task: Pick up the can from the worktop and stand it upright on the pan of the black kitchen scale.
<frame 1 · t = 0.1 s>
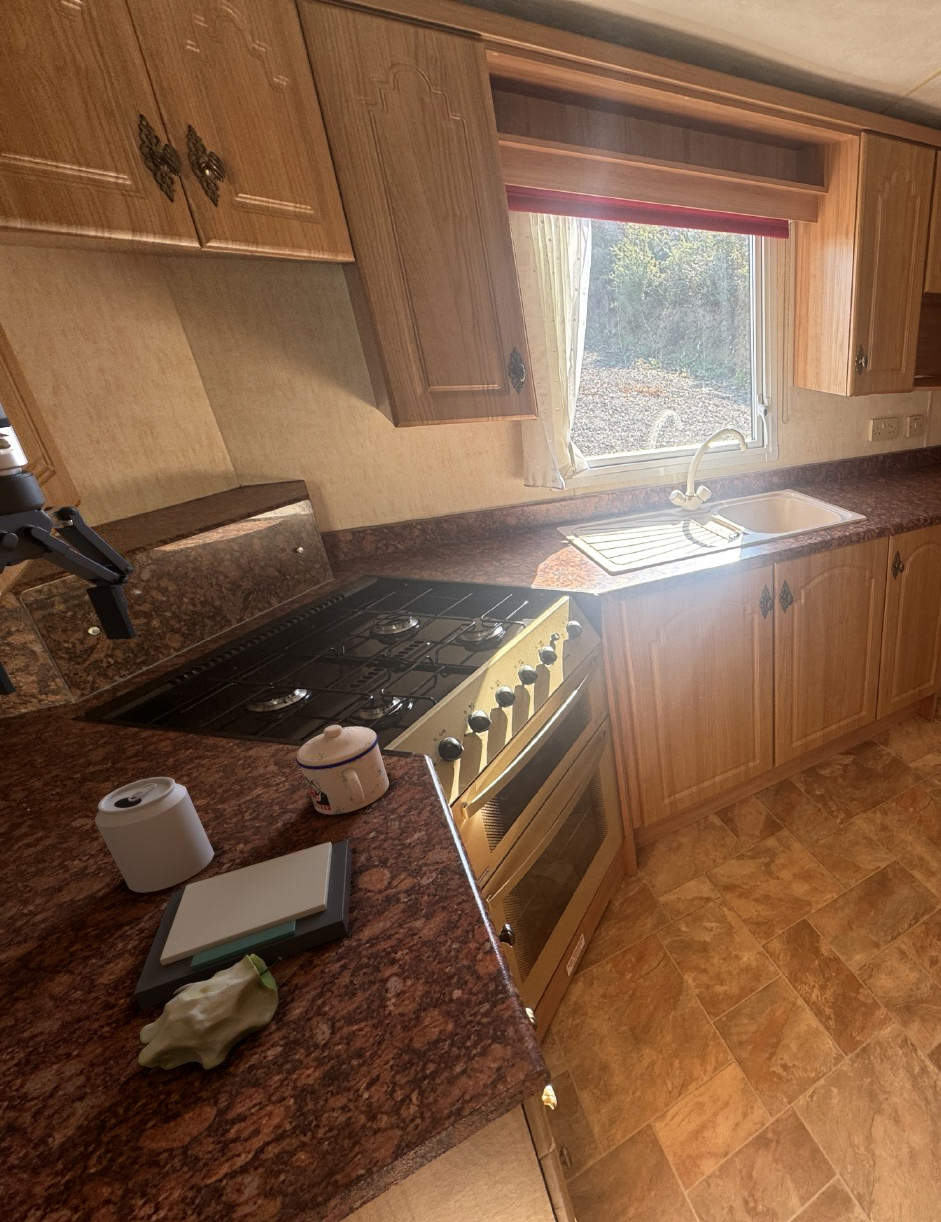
hand: (66, 663, 72), 25 cm above the countertop, tool pointing down, fingers open, 13 cm apart
fruit: (228, 1035, 59), on the countertop
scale: (263, 926, 70), on the countertop
teacup with lid: (357, 805, 89), on the countertop
can: (175, 875, 76), on the countertop
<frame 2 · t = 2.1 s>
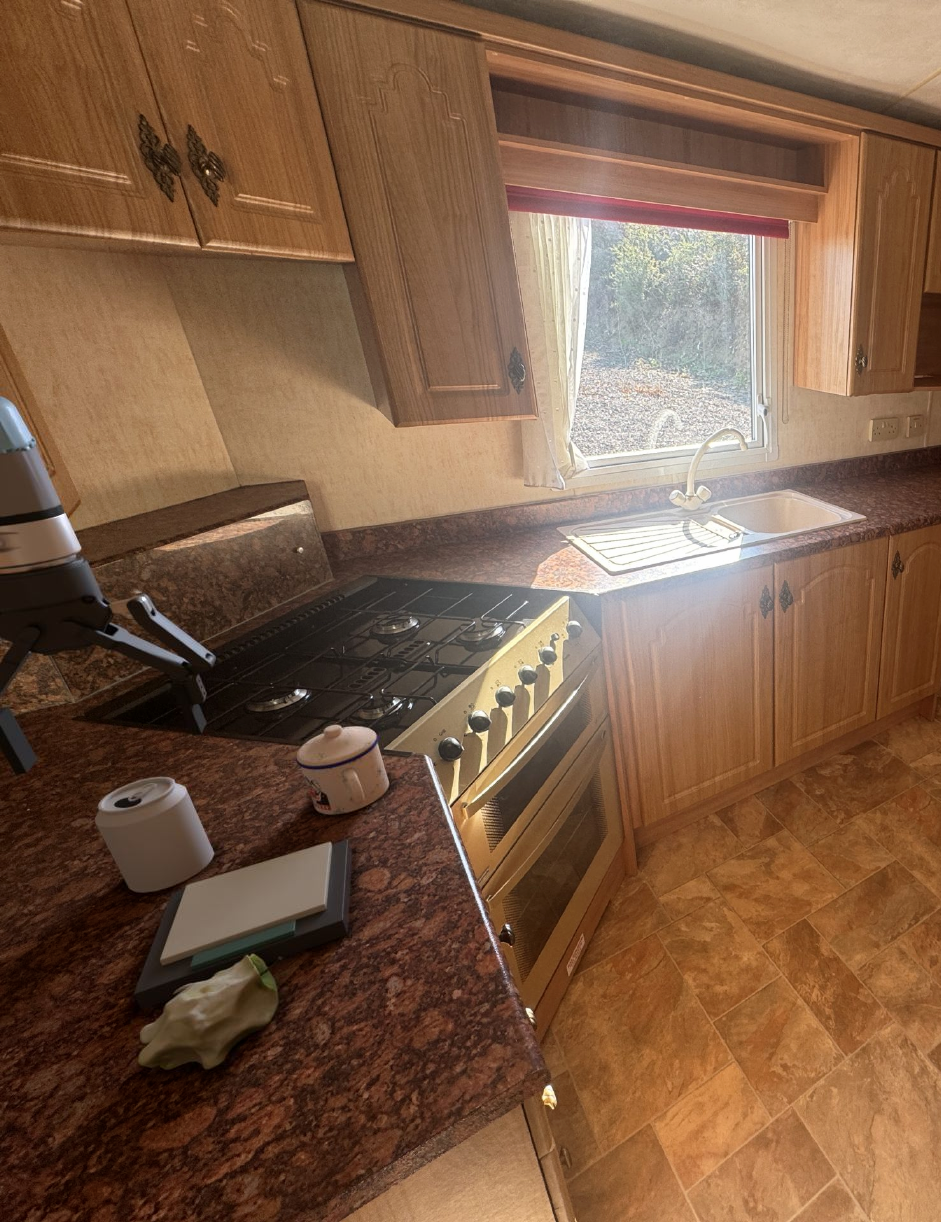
hand: (117, 747, 70), 18 cm above the countertop, tool pointing down, fingers open, 13 cm apart
nothing on the countertop moved.
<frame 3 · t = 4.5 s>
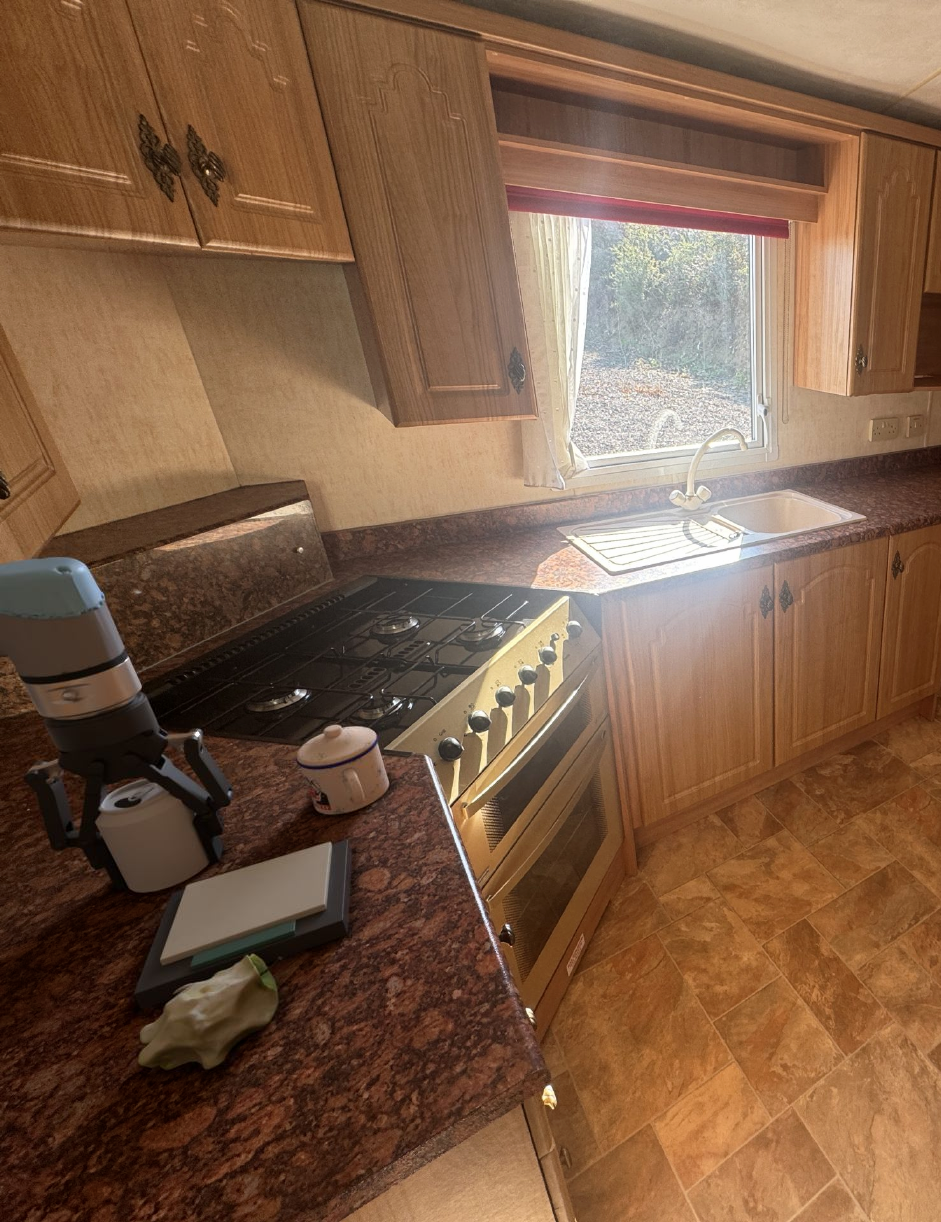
hand: (173, 869, 76), 1 cm above the countertop, tool pointing down, fingers closed on can, 7 cm apart
can: (175, 875, 76), on the countertop, touching gripper
everything else where it was.
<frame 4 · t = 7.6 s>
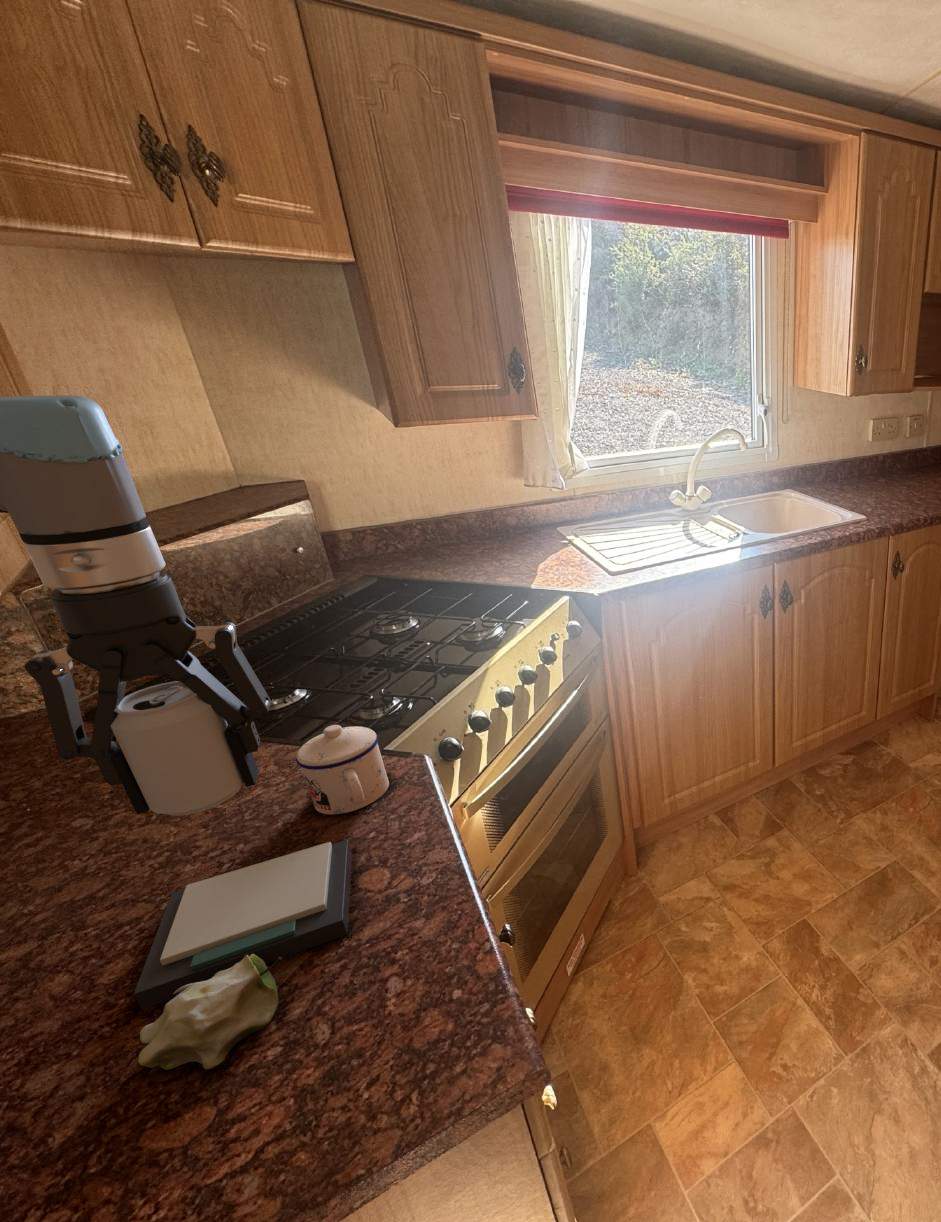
hand: (200, 791, 65), 17 cm above the countertop, tool pointing down, fingers closed on can, 7 cm apart
can: (203, 798, 65), point 16 cm above the countertop, touching gripper
everything else where it was.
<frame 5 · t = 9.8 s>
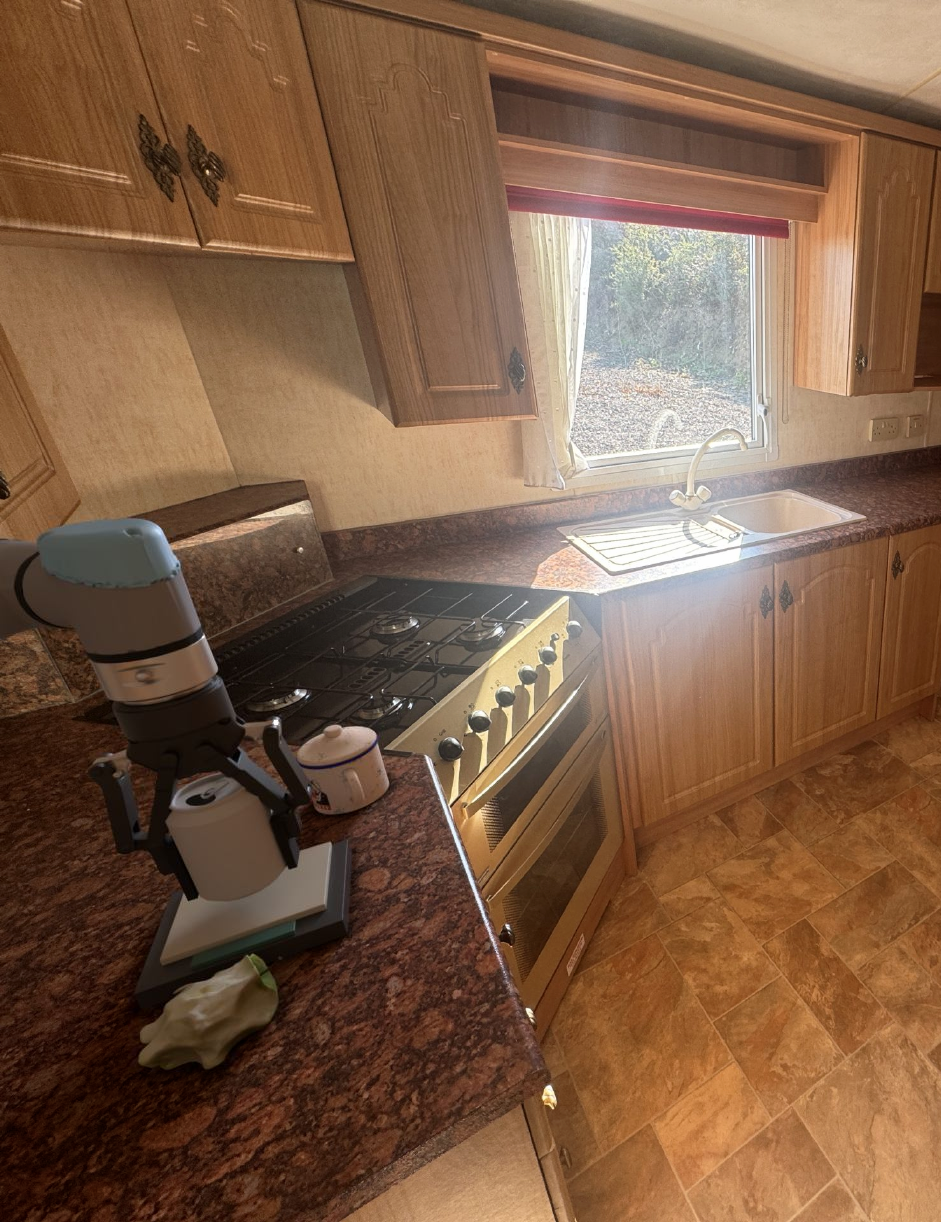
hand: (246, 875, 68), 6 cm above the countertop, tool pointing down, fingers closed on can, 7 cm apart
can: (248, 881, 68), point 6 cm above the countertop, touching gripper
everything else where it was.
when the fingers open (4 cm above the countertop, at t = 10.9 s): can stays where it is, resting on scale.
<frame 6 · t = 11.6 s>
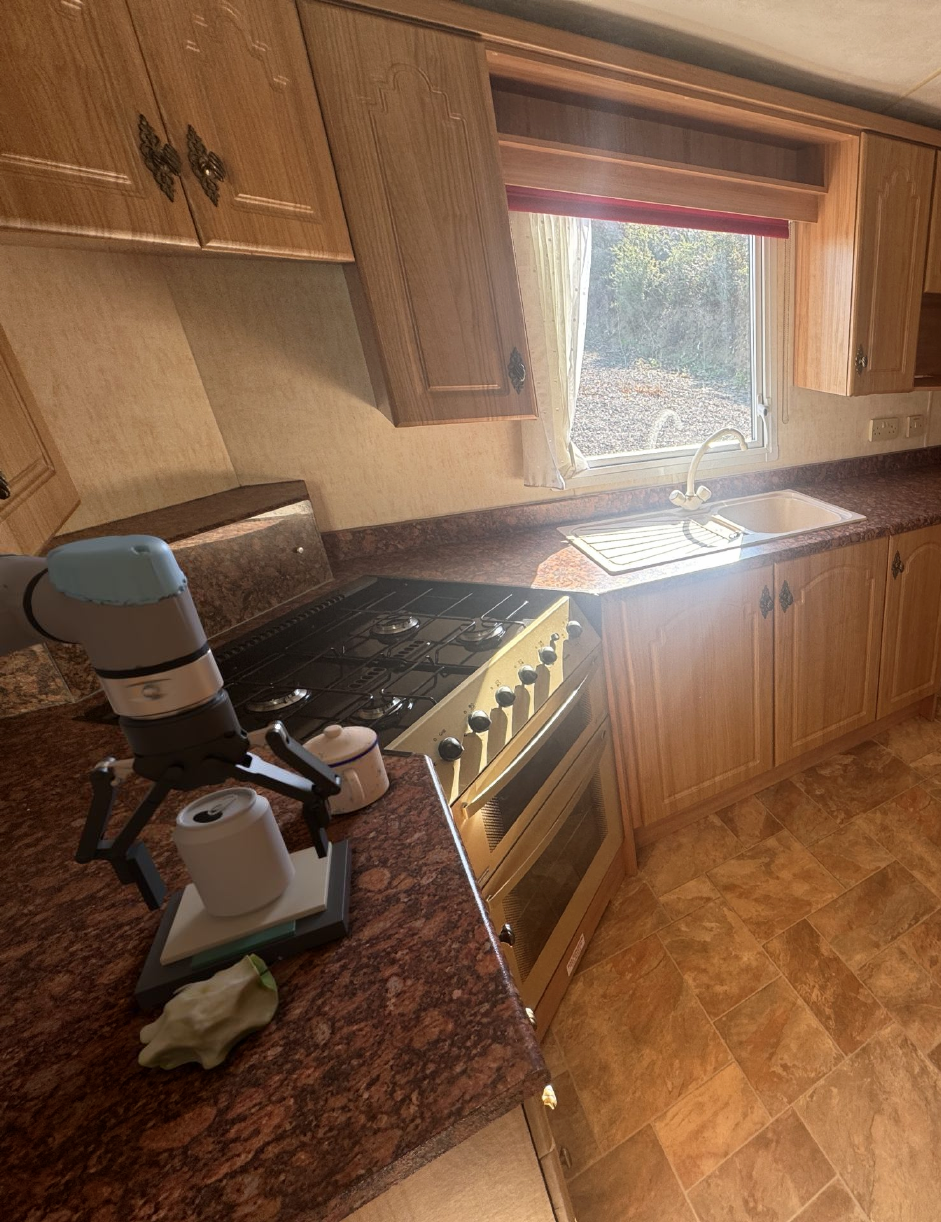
hand: (245, 874, 68), 7 cm above the countertop, tool pointing down, fingers open, 13 cm apart
can: (254, 895, 69), point 4 cm above the countertop, touching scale
everything else where it was.
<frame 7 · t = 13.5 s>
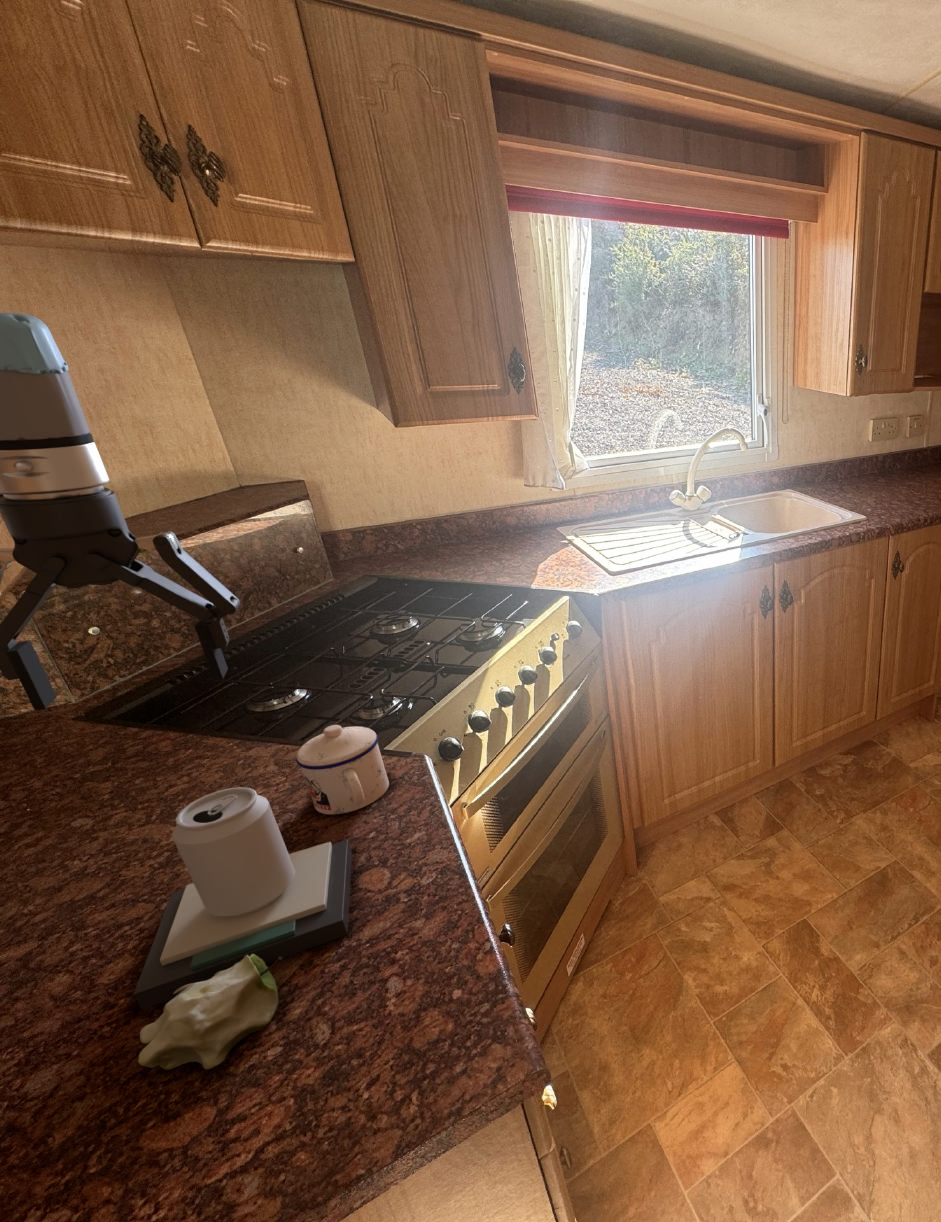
hand: (138, 688, 68), 25 cm above the countertop, tool pointing down, fingers open, 13 cm apart
nothing on the countertop moved.
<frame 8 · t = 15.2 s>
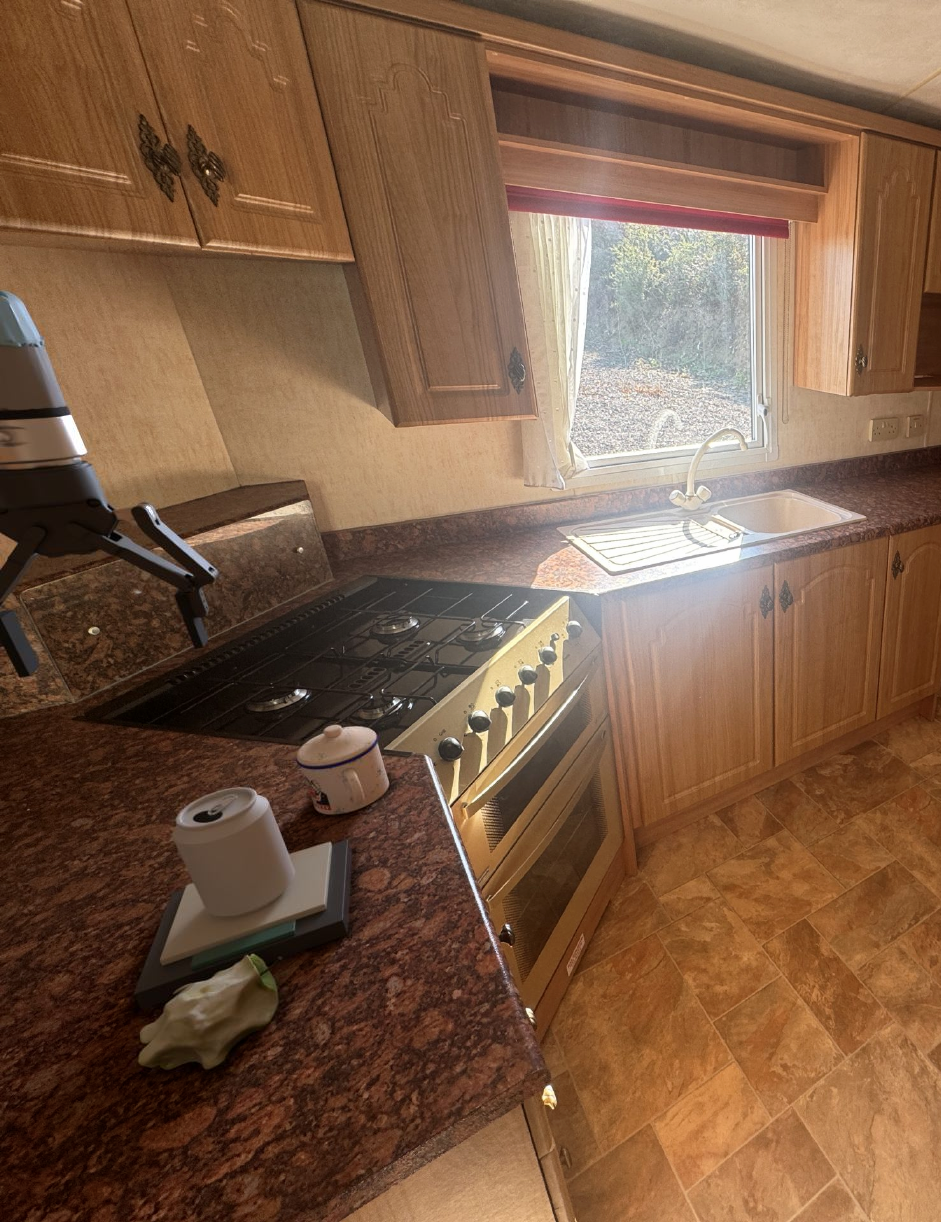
hand: (120, 657, 70), 27 cm above the countertop, tool pointing down, fingers open, 13 cm apart
nothing on the countertop moved.
at the end: can inside the target area on the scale (0.0 cm from its centre), point 3.6 cm above the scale's base; can tilted 0°; the gripper is holding nothing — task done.
